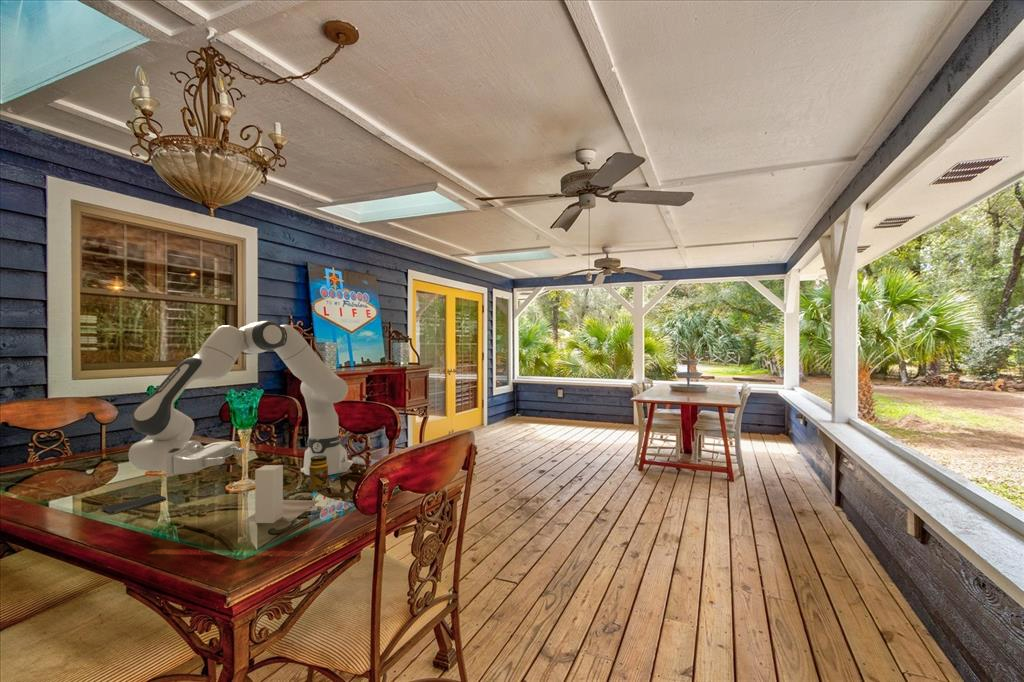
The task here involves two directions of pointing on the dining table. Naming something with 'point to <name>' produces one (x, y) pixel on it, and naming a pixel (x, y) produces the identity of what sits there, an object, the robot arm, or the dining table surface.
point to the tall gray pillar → (268, 493)
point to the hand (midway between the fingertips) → (233, 456)
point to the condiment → (318, 473)
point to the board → (291, 509)
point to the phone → (133, 503)
